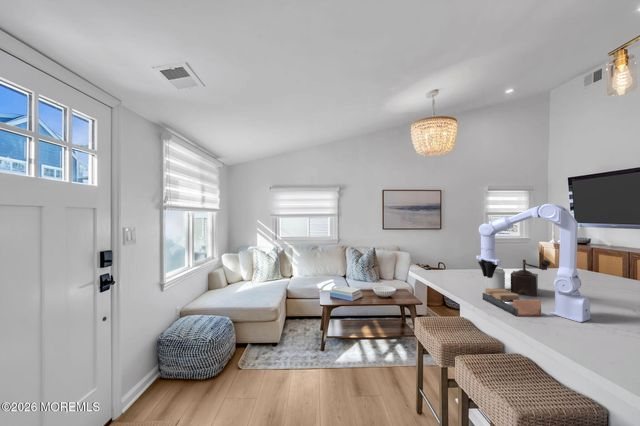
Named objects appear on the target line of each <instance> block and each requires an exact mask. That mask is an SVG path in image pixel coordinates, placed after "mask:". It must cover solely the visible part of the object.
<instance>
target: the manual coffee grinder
mask: <svg viewBox="0 0 640 426" xmlns="http://www.w3.org/2000/svg"><path fill="white" fill-rule="evenodd" d="M539 262H540V265H541V266H537V265H533V264H529V263H527V261H526V259H522V269H520V270H513V271H512V272H511V273H510V290H509V291H510V292H513V293H515V294H518V295H523V296H530V297H537V296H538V295H539V284H538V283H539V278H538V277H539V273H534V272H531V271H529V270H527V269H526V266H528V267H532V268H536V269H539V270H542V271H548V267H550V266H551V265H552V263H551V261H549V260H548V259H541V260H540V261H539Z"/></svg>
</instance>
